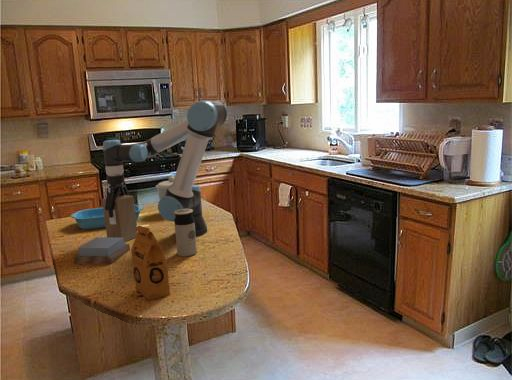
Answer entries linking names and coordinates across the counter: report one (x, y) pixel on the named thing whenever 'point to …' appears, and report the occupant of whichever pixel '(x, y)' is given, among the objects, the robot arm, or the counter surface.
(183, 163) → the robot arm
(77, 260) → the walnut slab
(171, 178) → the canister
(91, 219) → the casserole dish
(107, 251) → the slate slab
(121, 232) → the wooden block
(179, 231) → the travel mug
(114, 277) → the counter surface
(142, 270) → the coffee package
